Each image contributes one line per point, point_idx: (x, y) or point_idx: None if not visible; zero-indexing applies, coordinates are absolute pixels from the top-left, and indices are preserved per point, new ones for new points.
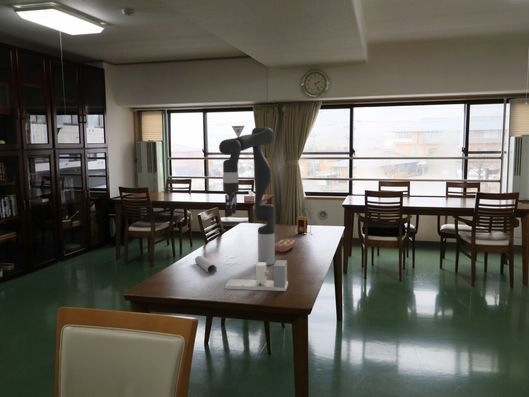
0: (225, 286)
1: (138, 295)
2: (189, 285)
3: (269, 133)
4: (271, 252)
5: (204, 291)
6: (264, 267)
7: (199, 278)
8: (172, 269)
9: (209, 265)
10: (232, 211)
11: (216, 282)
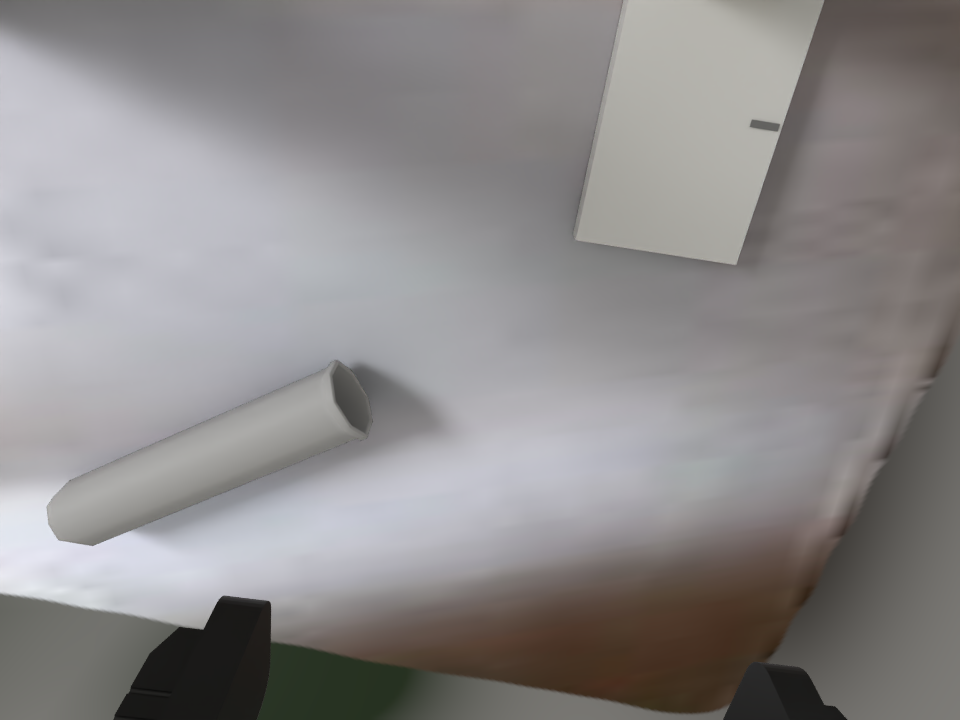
0: (734, 261)
1: None
2: (618, 484)
3: None
4: None
5: (761, 386)
6: None
7: (468, 448)
8: None
9: (349, 432)
10: (249, 715)
11: (570, 332)
